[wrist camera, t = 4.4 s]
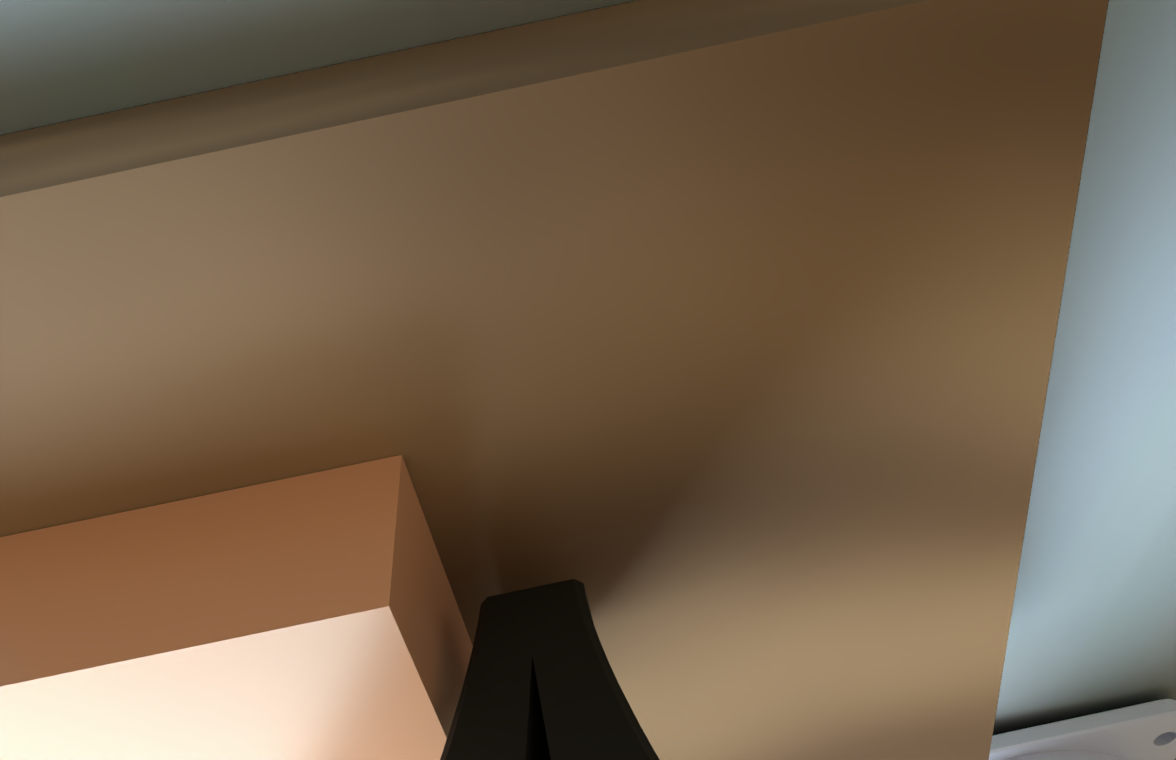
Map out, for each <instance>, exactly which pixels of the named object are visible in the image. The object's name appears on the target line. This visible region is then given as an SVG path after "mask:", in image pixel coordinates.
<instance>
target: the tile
mask: <svg viewBox="0 0 1176 760" xmlns="http://www.w3.org/2000/svg"><path fill="white" fill-rule="evenodd" d="M472 648H473V645H472V643H471V640H470V637H469V635H468V632H467V629H466V627H465V624H464V621H463V619H462V616H461V613H460V610H459V608H458V605H457V602H456V600H455V597H454V594H453V592H452V589H451V586H450V584H449V581H448V578H447V575H446V573H445V570H444V567H443V565H442V562H441V559H440V557H439V554H438V551H437V549H436V546H435V543H434V540H433V538H432V535H431V532H430V530H429V527H428V524H427V522H426V519H425V516H424V513H423V511H422V508H421V505H420V503H419V500H418V497H417V495H416V492H415V489H414V487H413V484H412V481H411V478H410V476H409V473H408V470H407V468H406V465H405V462H404V460H403V457H402V455H398V456H393V457H388V458H384V459H379V460H374V461H369V462H364V463H359V464H354V465H350V466H345V467H340V468H335V469H330V470H325V471H320V472H315V473H311V474H306V475H301V476H296V477H291V478H286V479H281V480H277V481H272V482H267V483H262V484H257V485H252V486H247V487H242V488H238V489H233V490H228V491H223V492H218V493H213V494H208V495H204V496H199V497H194V498H189V499H184V500H179V501H174V502H169V503H165V504H160V505H155V506H150V507H145V508H140V509H135V510H131V511H126V512H121V513H116V514H111V515H106V516H101V517H96V518H92V519H87V520H82V521H77V522H72V523H67V524H62V525H58V526H53V527H48V528H43V529H38V530H33V531H28V532H23V533H19V534H14V535H9V536H4V537H0V760H440V758H441V755H442V752H443V749H444V746H445V743H446V740H447V737H448V733H449V730H450V727H451V724H452V720H453V717H454V714H455V711H456V708H457V704H458V701H459V698H460V694H461V691H462V687H463V683H464V680H465V676H466V672H467V668H468V665H469V660H470V656H471V652H472Z"/></svg>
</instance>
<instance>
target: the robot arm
mask: <svg viewBox="0 0 1176 760" xmlns="http://www.w3.org/2000/svg"><path fill="white" fill-rule="evenodd" d="M1175 758H1176V700H1173V699H1161V700H1156V701H1151V702H1147V703H1142V704H1137V705H1133V706H1128V707H1123V708H1119V709H1114V710H1109V711H1105V712H1100V713H1095V714H1091V715H1086V716H1081V717H1076V718H1072V719H1067V720H1062V721H1058V722H1053V723H1048V724H1044V725H1039V726H1034V727H1030V728H1025V729H1020V730H1016V731H1011V732H1006V733H1001V734H997V735H992V741H991V748H990V754H989V760H1175ZM440 760H660V759H659V758H658V756H657V754H656V752H655V751H654V749H653V747H652V746H651V744H650V742H649V740H648V738H647V737H646V735H645V733H644V731H643V729H642V728H641V726H640V724H639V722H638V720H637V718H636V716H635V714H634V712H633V710H632V709H631V707H630V705H629V703H628V701H627V699H626V697H625V695H624V693H623V691H622V689H621V687H620V685H619V683H618V681H617V679H616V677H615V675H614V672H613V670H612V668H611V666H610V664H609V661H608V659H607V657H606V654H605V652H604V649H603V647H602V645H601V642H600V640H599V637H598V634H597V632H596V629H595V626H594V623H593V619H592V615H591V611H590V607H589V603H588V599H587V595H586V591H585V587H584V583H582V582H580V581H578V580H576V579H570V580H565V581H561V582H556V583H551V584H546V585H542V586H537V587H532V588H527V589H523V590H518V591H513V592H508V593H504V594H499V595H494V596H489V597H487V598H486V599H485V600H484V601H483V602H482V604H481V606H480V612H479V618H478V624H477V629H476V634H475V639H474V644H473V648H472V652H471V656H470V660H469V665H468V668H467V672H466V676H465V680H464V683H463V687H462V691H461V694H460V698H459V701H458V704H457V708H456V711H455V714H454V717H453V720H452V724H451V727H450V730H449V733H448V737H447V740H446V743H445V746H444V749H443V752H442V755H441V758H440Z"/></svg>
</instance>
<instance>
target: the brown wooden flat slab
mask: <svg viewBox="0 0 1176 760" xmlns="http://www.w3.org/2000/svg"><path fill="white" fill-rule="evenodd" d="M1108 1H1109V0H637V1H632V2H628V3H623V4H618V5H613V6H609V7H604V8H599V9H595V10H590V11H585V12H580V13H576V14H571V15H566V16H562V17H557V18H552V19H547V20H543V21H538V22H533V23H529V24H524V25H519V26H514V27H510V28H505V29H500V30H496V31H491V32H486V33H481V34H477V35H472V36H467V37H463V38H458V39H453V40H448V41H444V42H439V43H434V44H430V45H425V46H420V47H415V48H411V49H406V50H401V51H397V52H392V53H387V54H382V55H378V56H373V57H368V58H364V59H359V60H354V61H349V62H345V63H340V64H335V65H331V66H326V67H321V68H316V69H312V70H307V71H302V72H298V73H293V74H288V75H283V76H279V77H274V78H269V79H265V80H260V81H255V82H250V83H246V84H241V85H236V86H232V87H227V88H222V89H217V90H213V91H208V92H203V93H199V94H194V95H189V96H184V97H180V98H175V99H170V100H166V101H161V102H156V103H151V104H147V105H142V106H137V107H133V108H128V109H123V110H118V111H114V112H109V113H104V114H100V115H95V116H90V117H85V118H81V119H76V120H71V121H67V122H62V123H57V124H52V125H48V126H43V127H38V128H34V129H29V130H24V131H19V132H15V133H10V134H5V135H1V136H0V537H4V536H9V535H14V534H19V533H23V532H28V531H33V530H38V529H43V528H48V527H53V526H58V525H62V524H67V523H72V522H77V521H82V520H87V519H92V518H96V517H101V516H106V515H111V514H116V513H121V512H126V511H131V510H135V509H140V508H145V507H150V506H155V505H160V504H165V503H169V502H174V501H179V500H184V499H189V498H194V497H199V496H204V495H208V494H213V493H218V492H223V491H228V490H233V489H238V488H242V487H247V486H252V485H257V484H262V483H267V482H272V481H277V480H281V479H286V478H291V477H296V476H301V475H306V474H311V473H315V472H320V471H325V470H330V469H335V468H340V467H345V466H350V465H354V464H359V463H364V462H369V461H374V460H379V459H384V458H388V457H393V456H398V455H402V457H403V460H404V462H405V465H406V468H407V470H408V473H409V476H410V478H411V481H412V484H413V487H414V489H415V492H416V495H417V497H418V500H419V503H420V505H421V508H422V511H423V513H424V516H425V519H426V522H427V524H428V527H429V530H430V532H431V535H432V538H433V540H434V543H435V546H436V549H437V551H438V554H439V557H440V559H441V562H442V565H443V567H444V570H445V573H446V575H447V578H448V581H449V584H450V586H451V589H452V592H453V594H454V597H455V600H456V602H457V605H458V608H459V610H460V613H461V616H462V619H463V621H464V624H465V627H466V629H467V632H468V635H469V637H470V640H471V643H472V645H473V644H474V639H475V634H476V629H477V624H478V618H479V612H480V606H481V604H482V602H483V601H484V600H485V599H486V598H487V597H489V596H494V595H499V594H504V593H508V592H513V591H518V590H523V589H527V588H532V587H537V586H542V585H546V584H551V583H556V582H561V581H565V580H570V579H576V580H578V581H580V582H582V583H584V587H585V591H586V595H587V599H588V603H589V607H590V611H591V615H592V619H593V623H594V626H595V629H596V632H597V634H598V637H599V640H600V642H601V645H602V647H603V649H604V652H605V654H606V657H607V659H608V661H609V664H610V666H611V668H612V670H613V672H614V675H615V677H616V679H617V681H618V683H619V685H620V687H621V689H622V691H623V693H624V695H625V697H626V699H627V701H628V703H629V705H630V707H631V709H632V710H633V712H634V714H635V716H636V718H637V720H638V722H639V724H640V726H641V728H642V729H643V731H644V733H645V735H646V737H647V738H648V740H649V742H650V744H651V746H652V747H653V749H654V751H655V752H656V754H657V756H658V758H659V759H660V760H989V754H990V748H991V741H992V735H993V729H994V722H995V716H996V710H997V703H998V697H999V691H1000V684H1001V678H1002V672H1003V665H1004V659H1005V653H1006V646H1007V640H1008V634H1009V627H1010V621H1011V615H1012V608H1013V602H1014V596H1015V589H1016V583H1017V577H1018V571H1019V564H1020V558H1021V552H1022V545H1023V539H1024V533H1025V526H1026V520H1027V514H1028V507H1029V501H1030V495H1031V488H1032V482H1033V476H1034V469H1035V463H1036V457H1037V450H1038V444H1039V438H1040V431H1041V425H1042V419H1043V412H1044V406H1045V400H1046V393H1047V387H1048V381H1049V374H1050V368H1051V362H1052V356H1053V349H1054V343H1055V337H1056V330H1057V324H1058V318H1059V311H1060V305H1061V299H1062V292H1063V286H1064V280H1065V273H1066V267H1067V261H1068V254H1069V248H1070V242H1071V235H1072V229H1073V223H1074V216H1075V210H1076V204H1077V197H1078V191H1079V185H1080V178H1081V172H1082V166H1083V159H1084V153H1085V147H1086V141H1087V134H1088V128H1089V122H1090V115H1091V109H1092V103H1093V96H1094V90H1095V84H1096V77H1097V71H1098V65H1099V58H1100V52H1101V46H1102V39H1103V33H1104V27H1105V20H1106V14H1107V8H1108Z"/></svg>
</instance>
